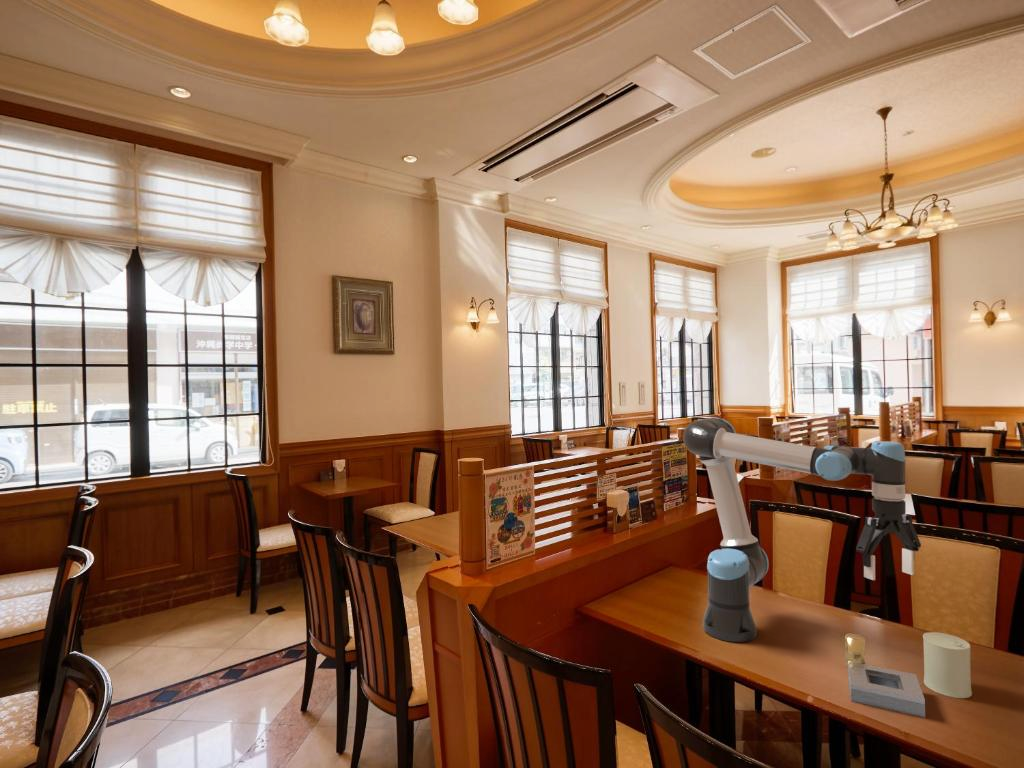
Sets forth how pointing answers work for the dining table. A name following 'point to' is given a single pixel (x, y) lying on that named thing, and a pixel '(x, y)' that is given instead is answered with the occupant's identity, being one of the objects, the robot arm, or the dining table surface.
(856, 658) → the golden yellow cylinder
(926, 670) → the can
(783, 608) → the dining table surface
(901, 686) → the block
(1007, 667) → the dining table surface
